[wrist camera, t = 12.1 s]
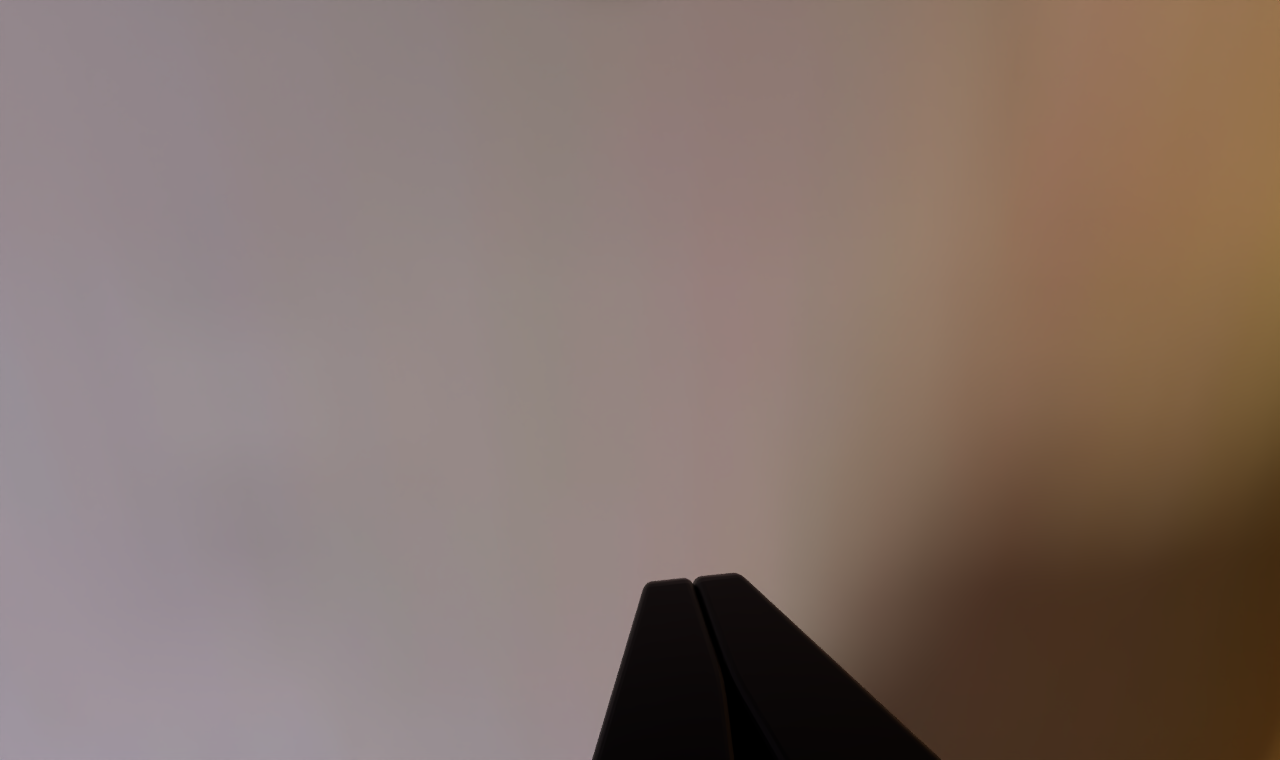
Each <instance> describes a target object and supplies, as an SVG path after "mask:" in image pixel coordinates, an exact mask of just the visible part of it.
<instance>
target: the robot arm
mask: <svg viewBox="0 0 1280 760" xmlns="http://www.w3.org/2000/svg"><path fill="white" fill-rule="evenodd" d="M592 760H941V759H940V758H939V757H938V756H937V755H936V754H935V753H934V752H932V751H931V750H930V749H929V748H928V747H927V746H926V745H925V744H924V743H923V742H922V741H921V740H920V739H918V738H917V737H916V736H915V735H914V734H913V733H912V732H911V731H910V730H909V729H908V728H907V727H905V726H904V725H903V724H902V723H901V722H900V721H899V720H898V719H897V718H896V717H895V716H894V715H892V714H891V713H890V712H889V711H888V710H887V709H886V708H885V707H884V706H883V705H882V704H881V703H880V702H878V701H877V700H876V699H875V698H874V697H873V696H872V695H871V694H870V693H869V692H868V691H867V690H865V689H864V688H863V687H862V686H861V685H860V684H859V683H858V682H857V681H856V680H855V679H854V678H853V677H851V676H850V675H849V674H848V673H847V672H846V671H845V670H844V669H843V668H842V667H841V666H840V665H838V664H837V663H836V662H835V661H834V660H833V659H832V658H831V657H830V656H829V655H828V654H827V653H825V652H824V651H823V650H822V649H821V648H820V647H819V646H818V645H817V644H816V643H815V642H814V641H813V640H811V639H810V638H809V637H808V636H807V635H806V634H805V633H804V632H803V631H802V630H801V629H800V628H798V627H797V626H796V625H795V624H794V623H793V622H792V621H791V620H790V619H789V618H788V617H787V616H786V615H784V614H783V613H782V612H781V611H780V610H779V609H778V608H777V607H776V606H775V605H774V604H773V603H771V602H770V601H769V600H768V599H767V598H766V597H765V596H764V595H763V594H762V593H761V592H760V591H758V590H757V589H756V588H755V587H754V586H753V585H752V584H751V583H750V582H749V581H748V580H747V579H746V578H744V577H743V576H741V575H739V574H737V573H727V574H717V575H708V576H700V577H698V578H696V579H695V581H694V582H693V583H692V582H691V581H690V580H688V579H686V578H680V579H670V580H661V581H652V582H649V583H647V584H646V585H645V587H644V588H643V591H642V594H641V598H640V601H639V604H638V608H637V611H636V614H635V618H634V621H633V624H632V628H631V631H630V634H629V638H628V641H627V645H626V648H625V651H624V655H623V658H622V661H621V665H620V668H619V671H618V675H617V678H616V681H615V685H614V688H613V691H612V695H611V698H610V701H609V705H608V708H607V712H606V715H605V718H604V722H603V725H602V728H601V732H600V735H599V738H598V742H597V745H596V748H595V752H594V755H593V758H592Z"/></svg>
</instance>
